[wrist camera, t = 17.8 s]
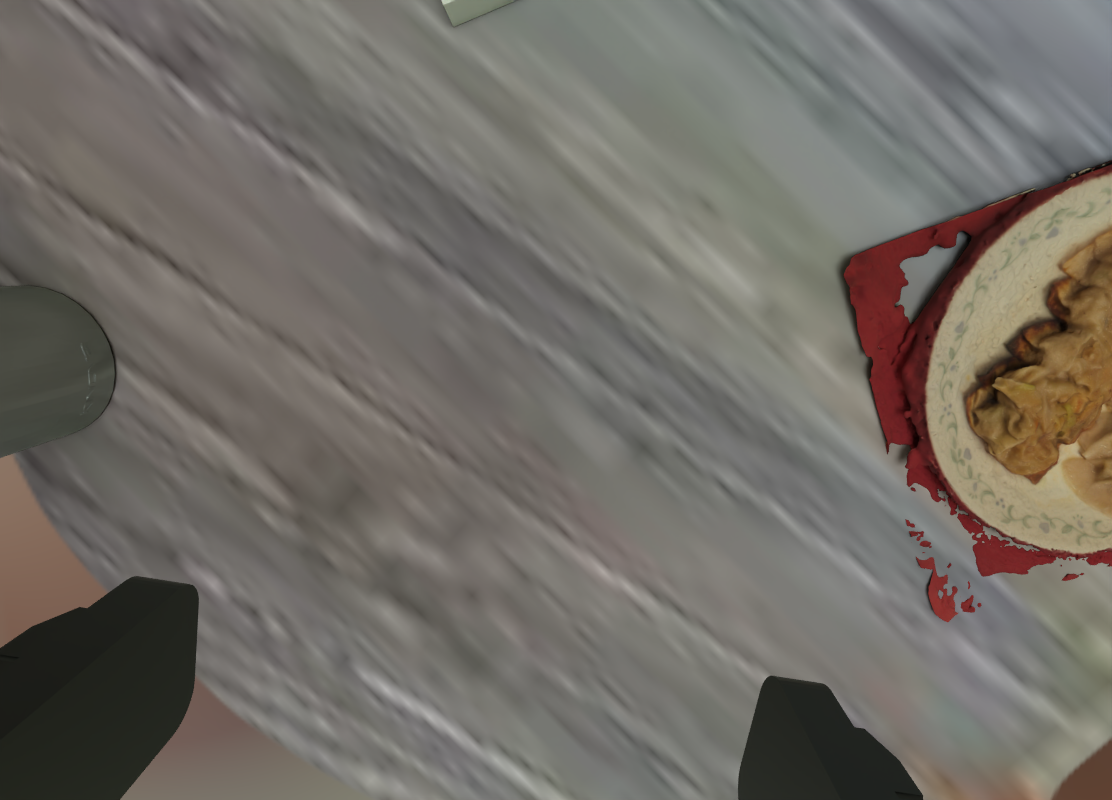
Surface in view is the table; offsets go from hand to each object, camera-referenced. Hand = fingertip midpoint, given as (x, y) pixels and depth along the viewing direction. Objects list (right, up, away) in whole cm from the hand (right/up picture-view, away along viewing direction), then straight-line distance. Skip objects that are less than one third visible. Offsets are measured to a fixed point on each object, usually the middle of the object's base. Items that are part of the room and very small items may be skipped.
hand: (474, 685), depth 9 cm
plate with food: (+34, +6, +30) cm, 46 cm away
